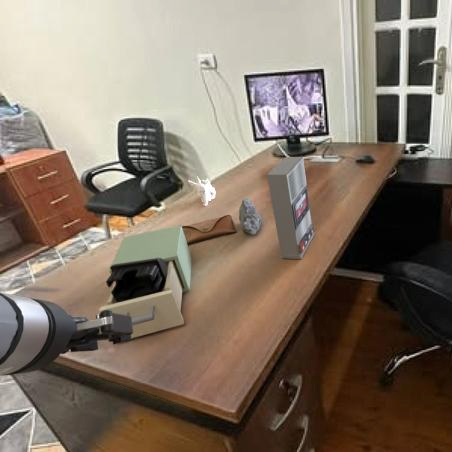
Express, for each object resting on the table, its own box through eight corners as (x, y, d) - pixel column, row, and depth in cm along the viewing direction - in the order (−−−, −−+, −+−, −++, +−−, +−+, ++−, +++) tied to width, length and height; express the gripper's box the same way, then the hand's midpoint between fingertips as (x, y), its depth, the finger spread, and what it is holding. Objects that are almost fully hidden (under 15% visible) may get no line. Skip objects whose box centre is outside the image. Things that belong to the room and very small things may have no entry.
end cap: (171, 276, 81) (161, 252, 78) (162, 296, 75) (152, 270, 72) (126, 283, 80) (115, 259, 77) (114, 303, 74) (101, 278, 71)
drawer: (182, 336, 74) (169, 304, 69) (111, 356, 70) (93, 324, 66) (186, 283, 90) (176, 254, 86) (129, 297, 87) (115, 268, 82)
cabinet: (189, 291, 89) (177, 255, 83) (126, 307, 85) (108, 271, 80) (191, 257, 103) (181, 224, 97) (137, 269, 99) (123, 237, 94)
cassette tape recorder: (302, 260, 97) (289, 175, 84) (281, 258, 98) (265, 174, 86) (315, 234, 108) (306, 156, 96) (296, 233, 110) (285, 156, 98)
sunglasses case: (179, 247, 107) (173, 226, 107) (181, 248, 114) (175, 228, 113) (238, 231, 113) (232, 211, 113) (236, 233, 120) (231, 214, 120)
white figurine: (206, 206, 134) (199, 182, 129) (188, 206, 135) (181, 183, 131) (220, 193, 144) (215, 171, 139) (204, 193, 145) (198, 171, 141)
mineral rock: (254, 240, 108) (247, 211, 103) (224, 237, 111) (216, 209, 107) (272, 220, 119) (267, 193, 114) (244, 218, 122) (238, 192, 117)
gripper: (-101, 404, 32) (52, 378, 53) (109, 347, 36) (171, 344, 58) (-98, 322, 33) (49, 329, 55) (101, 276, 38) (164, 299, 60)
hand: (111, 337), depth 56 cm, fingers open, 4 cm apart
